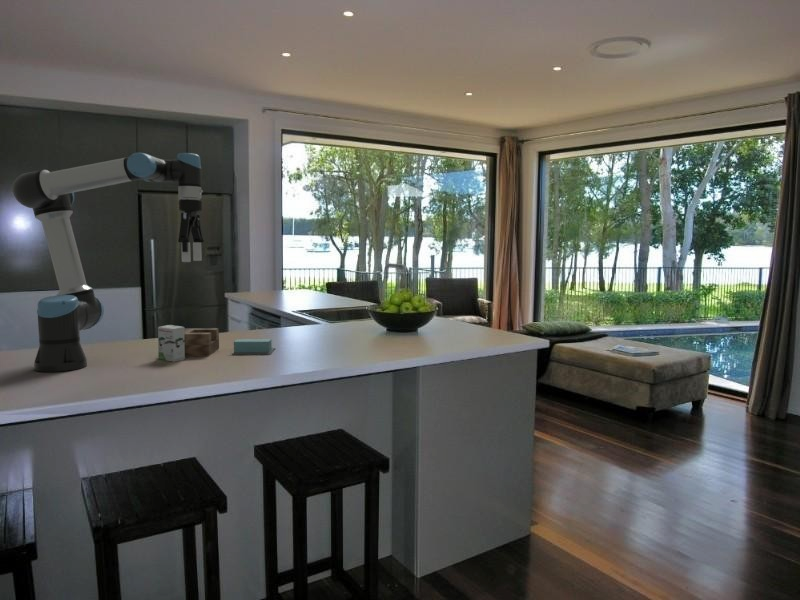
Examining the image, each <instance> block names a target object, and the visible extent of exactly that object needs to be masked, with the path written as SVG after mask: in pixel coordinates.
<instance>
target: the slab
mask: <svg viewBox="0 0 800 600" xmlns="http://www.w3.org/2000/svg"><path fill="white" fill-rule="evenodd" d="M272 348H273V345H272V338H241V339H240V338H238V339H237V338H236V339H235V340H234V341H233V353H234V352H270V351H271V349H272Z"/></svg>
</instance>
